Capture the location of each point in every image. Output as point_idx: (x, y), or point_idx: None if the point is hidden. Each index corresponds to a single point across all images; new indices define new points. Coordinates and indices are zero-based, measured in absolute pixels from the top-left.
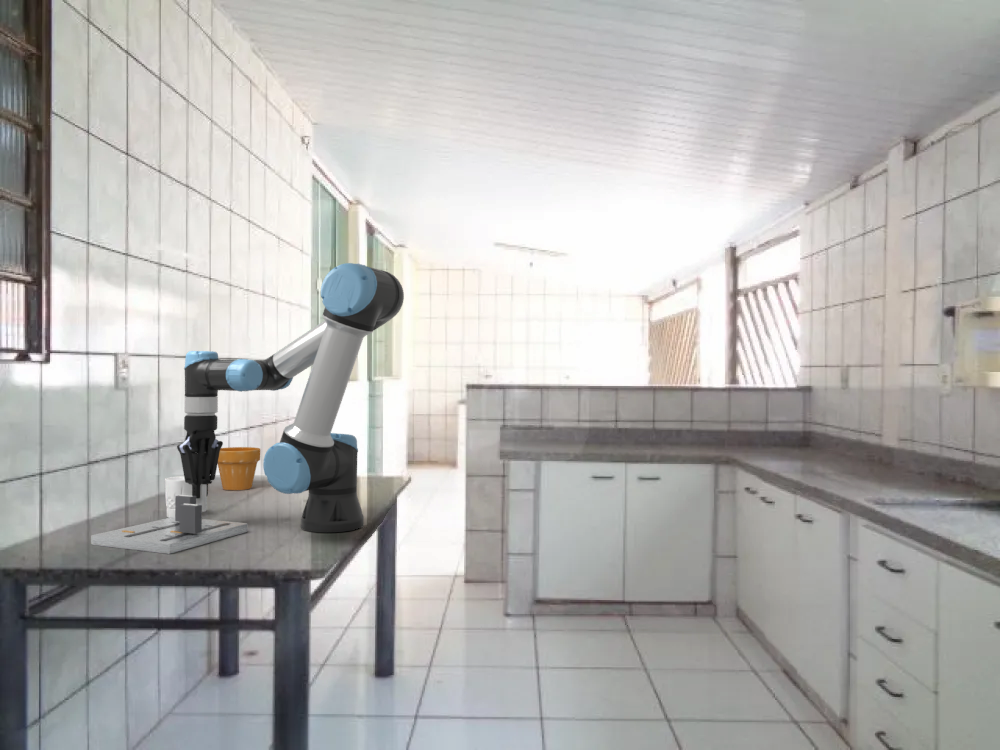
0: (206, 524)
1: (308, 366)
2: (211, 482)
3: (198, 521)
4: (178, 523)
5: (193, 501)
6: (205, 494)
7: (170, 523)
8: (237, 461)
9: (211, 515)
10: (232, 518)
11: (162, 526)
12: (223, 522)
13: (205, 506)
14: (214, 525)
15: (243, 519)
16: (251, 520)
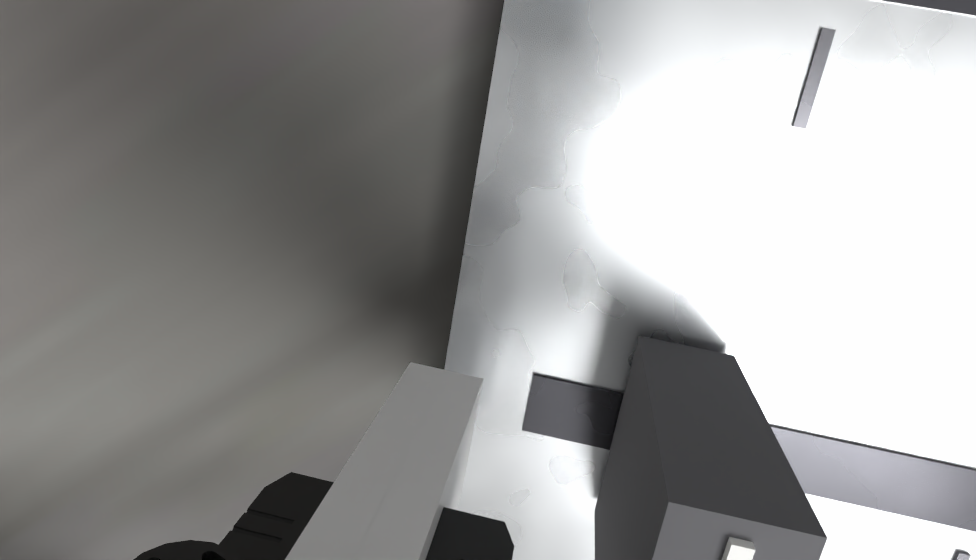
0: (727, 155)
1: None
2: (159, 553)
3: None
4: None
5: (721, 468)
6: (366, 479)
7: None
8: None
9: (8, 510)
10: (33, 281)
11: (896, 541)
12: (571, 23)
13: (411, 391)
14: (770, 24)
15: (27, 155)
16: (32, 47)
